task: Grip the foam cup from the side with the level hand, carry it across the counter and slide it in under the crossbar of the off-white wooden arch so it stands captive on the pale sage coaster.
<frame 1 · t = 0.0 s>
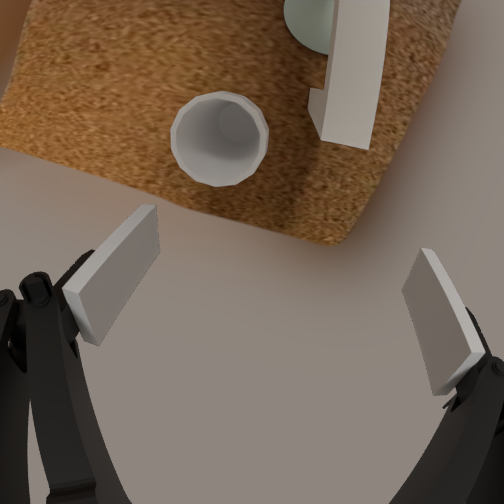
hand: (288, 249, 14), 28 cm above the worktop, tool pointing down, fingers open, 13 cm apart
foam cup: (241, 121, 37), on the worktop
keeper arch: (331, 15, 27), on the worktop
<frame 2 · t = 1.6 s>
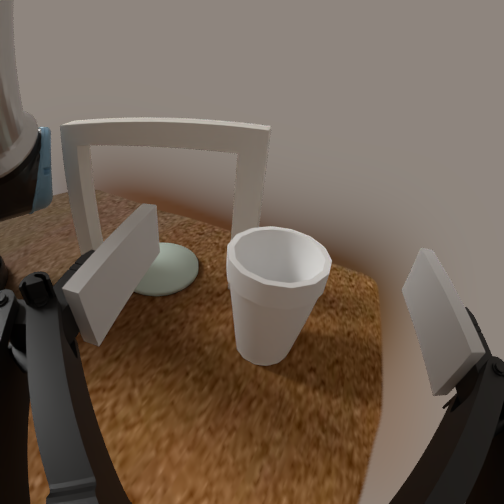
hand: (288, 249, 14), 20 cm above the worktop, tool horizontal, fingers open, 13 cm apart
foam cup: (262, 344, 34), on the worktop
keeper arch: (159, 268, 43), on the worktop
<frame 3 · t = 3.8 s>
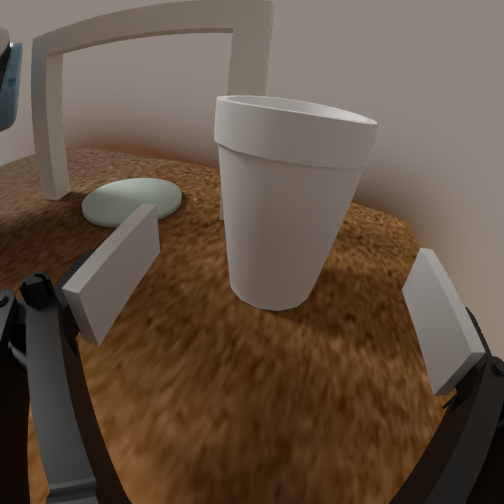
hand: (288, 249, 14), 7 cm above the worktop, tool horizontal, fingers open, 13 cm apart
foam cup: (270, 283, 23), on the worktop
keeper arch: (131, 202, 32), on the worktop
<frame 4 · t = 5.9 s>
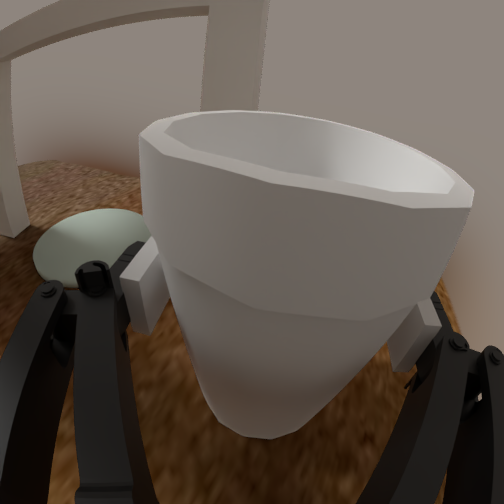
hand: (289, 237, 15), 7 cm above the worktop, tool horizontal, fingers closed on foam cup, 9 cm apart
foam cup: (261, 389, 15), on the worktop, touching gripper
keeper arch: (92, 245, 24), on the worktop
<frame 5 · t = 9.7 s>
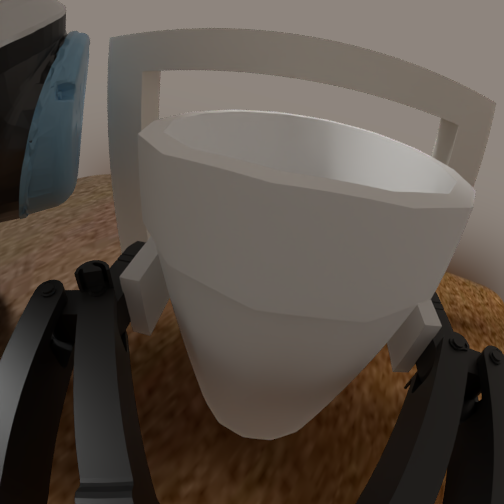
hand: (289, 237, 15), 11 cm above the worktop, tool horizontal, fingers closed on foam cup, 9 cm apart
foam cup: (261, 390, 15), point 4 cm above the worktop, touching gripper
keeper arch: (269, 296, 28), on the worktop
when the fingers open (9 cm above the worktop, at t = 13.8 s): foam cup stays where it is, resting on keeper arch.
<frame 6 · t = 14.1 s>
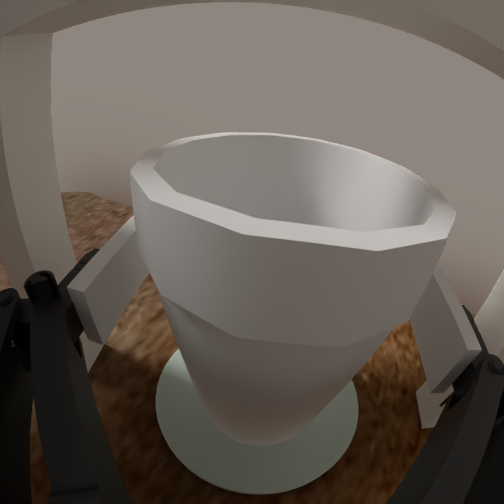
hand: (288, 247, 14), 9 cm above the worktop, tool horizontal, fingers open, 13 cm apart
foam cup: (259, 398, 15), point 1 cm above the worktop, touching keeper arch
keeper arch: (258, 402, 16), on the worktop
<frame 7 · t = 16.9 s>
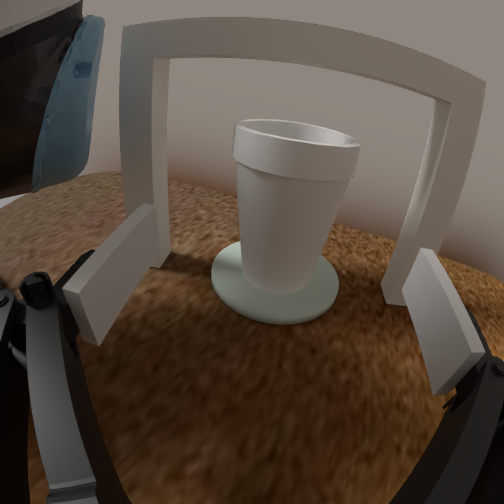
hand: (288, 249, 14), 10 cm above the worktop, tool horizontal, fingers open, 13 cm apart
foam cup: (275, 273, 27), point 1 cm above the worktop, touching keeper arch
keeper arch: (275, 278, 28), on the worktop
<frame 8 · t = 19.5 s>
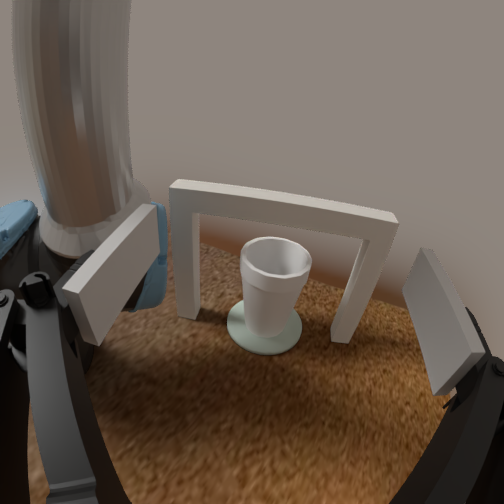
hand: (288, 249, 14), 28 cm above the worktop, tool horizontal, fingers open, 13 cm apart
foam cup: (264, 323, 46), point 1 cm above the worktop, touching keeper arch
keeper arch: (264, 325, 46), on the worktop
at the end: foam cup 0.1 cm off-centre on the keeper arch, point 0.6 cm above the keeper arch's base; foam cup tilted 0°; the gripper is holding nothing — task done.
